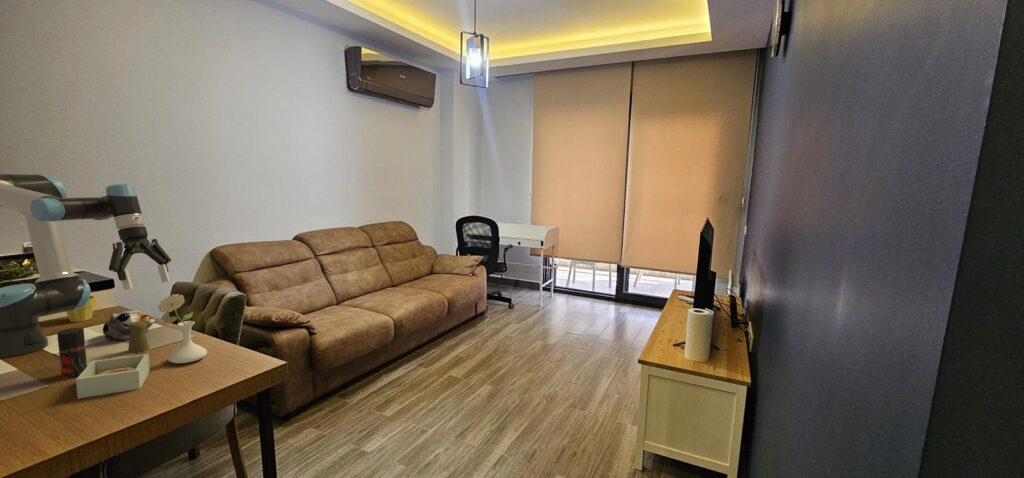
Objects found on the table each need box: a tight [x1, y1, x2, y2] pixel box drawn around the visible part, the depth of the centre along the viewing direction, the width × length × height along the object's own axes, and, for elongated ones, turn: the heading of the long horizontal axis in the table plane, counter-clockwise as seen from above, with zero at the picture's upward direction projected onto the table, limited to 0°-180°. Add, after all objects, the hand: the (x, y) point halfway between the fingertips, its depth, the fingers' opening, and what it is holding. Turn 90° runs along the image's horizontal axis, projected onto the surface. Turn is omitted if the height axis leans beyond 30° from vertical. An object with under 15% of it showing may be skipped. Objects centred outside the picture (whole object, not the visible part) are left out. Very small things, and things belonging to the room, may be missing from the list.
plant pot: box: [66, 295, 96, 323], centre depth 184 cm, size 10×10×10 cm
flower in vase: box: [157, 293, 208, 364], centre depth 150 cm, size 13×11×25 cm
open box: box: [75, 353, 151, 400], centre depth 132 cm, size 14×14×6 cm
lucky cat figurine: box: [102, 309, 157, 341], centre depth 169 cm, size 15×12×14 cm
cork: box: [127, 321, 150, 354], centre depth 157 cm, size 6×6×11 cm
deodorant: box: [56, 327, 88, 380], centre depth 136 cm, size 6×6×15 cm
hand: (148, 285), depth 149 cm, fingers open, 13 cm apart
